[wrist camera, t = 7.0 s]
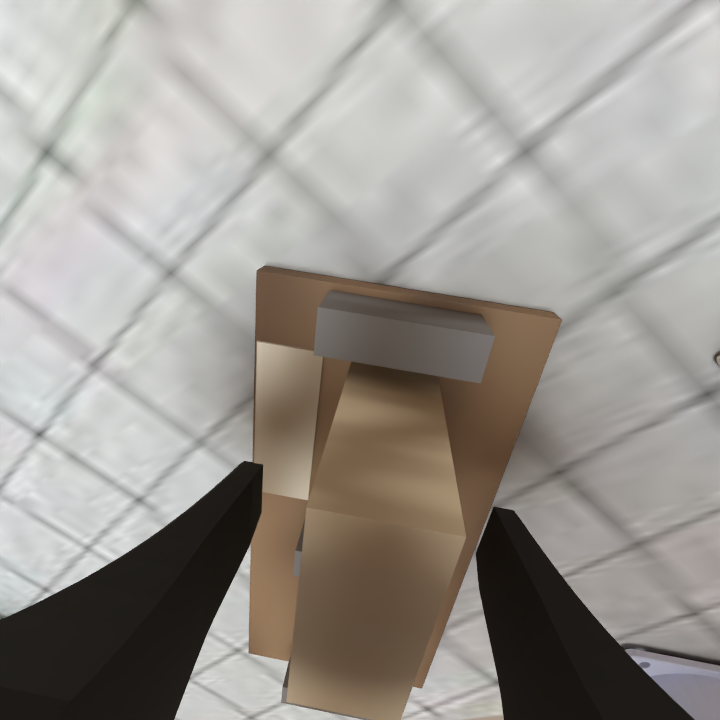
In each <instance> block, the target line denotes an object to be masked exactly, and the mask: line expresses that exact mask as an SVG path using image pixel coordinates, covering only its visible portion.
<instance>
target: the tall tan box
mask: <svg viewBox="0 0 720 720" xmlns="http://www.w3.org/2000/svg"><path fill="white" fill-rule="evenodd" d="M465 539H466V533H465V527H464V521H463V516H462V510H461V504H460V499H459V493H458V487H457V482H456V476H455V470H454V465H453V459H452V453H451V448H450V442H449V436H448V431H447V425H446V419H445V414H444V408H443V402H442V397H441V391H440V385H439V380H438V376H434V375H428V374H422V373H416V372H410V371H404V370H398V369H392V368H386V367H381V366H375V365H369V364H363V363H357V362H351V364H350V367H349V371H348V374H347V377H346V380H345V384H344V387H343V390H342V393H341V397H340V400H339V403H338V406H337V410H336V413H335V416H334V419H333V423H332V426H331V429H330V432H329V436H328V439H327V442H326V445H325V449H324V452H323V455H322V458H321V462H320V465H319V468H318V471H317V475H316V478H315V481H314V484H313V488H312V491H311V494H310V497H309V501H308V504H307V507H306V516H305V526H304V535H303V545H302V555H301V564H300V574H299V584H298V594H297V603H296V613H295V623H294V632H293V642H292V652H291V661H290V671H289V681H288V690H287V700H286V702H289V703H294V704H299V705H304V706H309V707H313V708H318V709H323V710H328V711H333V712H337V713H342V714H347V715H352V716H357V717H362V718H366V719H371V720H401V717H402V714H403V712H404V709H405V706H406V703H407V700H408V698H409V695H410V692H411V689H412V687H413V684H414V681H415V678H416V675H417V673H418V670H419V667H420V664H421V662H422V659H423V656H424V653H425V650H426V648H427V645H428V642H429V639H430V637H431V634H432V631H433V628H434V625H435V623H436V620H437V617H438V614H439V612H440V609H441V606H442V603H443V600H444V598H445V595H446V592H447V589H448V587H449V584H450V581H451V578H452V575H453V573H454V570H455V567H456V564H457V562H458V559H459V556H460V553H461V550H462V548H463V545H464V542H465Z"/></svg>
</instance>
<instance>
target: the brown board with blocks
mask: <svg viewBox="0 0 720 720" xmlns="http://www.w3.org/2000/svg"><path fill="white" fill-rule="evenodd" d="M561 322H562V319H561V318H559V317H558V316H557V315H556V314H555V313H553V312H548V311H542V310H535V309H529V308H523V307H517V306H510V305H504V304H498V303H492V302H486V301H479V300H473V299H467V298H461V297H455V296H448V295H442V294H436V293H430V292H424V291H417V290H411V289H405V288H399V287H393V286H386V285H380V284H374V283H368V282H362V281H355V280H349V279H343V278H337V277H331V276H324V275H318V274H312V273H306V272H300V271H293V270H287V269H281V268H275V267H268V266H264V267H262V268H260V269H258V270H257V280H256V327H255V375H254V423H253V463H258V464H263V487H262V513H261V516H260V518H259V521H258V524H257V527H256V530H255V532H254V535H253V538H252V541H251V566H250V613H249V653H250V654H255V655H260V656H265V657H270V658H275V659H280V660H285V661H289V663H288V668H287V672H286V676H285V680H284V684H283V689H282V700H281V703H286V704H291V705H295V706H300V707H305V708H310V709H315V710H319V711H324V712H329V713H334V714H339V715H343V716H348V717H353V718H358V719H363V720H371V719H366V718H362V717H357V716H352V715H347V714H342V713H337V712H333V711H328V710H323V709H318V708H313V707H309V706H304V705H299V704H294V703H289V702H286V700H287V690H288V681H289V671H290V661H291V652H292V642H293V632H294V623H295V613H296V603H297V594H298V584H299V574H300V564H301V555H302V545H303V535H304V526H305V516H306V507H307V504H308V501H309V497H310V494H311V491H312V488H313V484H314V481H315V478H316V475H317V471H318V468H319V465H320V462H321V458H322V455H323V452H324V449H325V445H326V442H327V439H328V436H329V432H330V429H331V426H332V423H333V419H334V416H335V413H336V410H337V406H338V403H339V400H340V397H341V393H342V390H343V387H344V384H345V380H346V377H347V374H348V371H349V367H350V364H351V362H357V363H363V364H369V365H375V366H381V367H386V368H392V369H398V370H404V371H410V372H416V373H422V374H428V375H434V376H438V380H439V385H440V391H441V397H442V402H443V408H444V414H445V419H446V425H447V431H448V436H449V442H450V448H451V453H452V459H453V465H454V470H455V476H456V482H457V487H458V493H459V499H460V504H461V510H462V516H463V521H464V527H465V533H466V539H465V542H464V545H463V548H462V550H461V553H460V556H459V559H458V562H457V564H456V567H455V570H454V573H453V575H452V578H451V581H450V584H449V587H448V589H447V592H446V595H445V598H444V600H443V603H442V606H441V609H440V612H439V614H438V617H437V620H436V623H435V625H434V628H433V631H432V634H431V637H430V639H429V642H428V645H427V648H426V650H425V653H424V656H423V659H422V662H421V664H420V667H419V670H418V673H417V675H416V678H415V681H414V684H413V687H417V688H422V687H423V684H424V682H425V679H426V676H427V674H428V671H429V668H430V666H431V663H432V661H433V658H434V655H435V653H436V650H437V647H438V645H439V642H440V640H441V637H442V634H443V632H444V629H445V626H446V624H447V621H448V619H449V616H450V613H451V611H452V608H453V605H454V603H455V600H456V597H457V595H458V592H459V590H460V587H461V584H462V582H463V579H464V576H465V574H466V571H467V569H468V566H469V563H470V561H471V558H472V555H473V553H474V550H475V548H476V545H477V542H478V540H479V537H480V534H481V532H482V529H483V527H484V524H485V521H486V519H487V516H488V513H489V511H490V508H491V506H492V503H493V500H494V498H495V495H496V492H497V490H498V487H499V485H500V482H501V479H502V477H503V474H504V471H505V469H506V466H507V463H508V461H509V458H510V456H511V453H512V450H513V448H514V445H515V442H516V440H517V437H518V435H519V432H520V429H521V427H522V424H523V421H524V419H525V416H526V414H527V411H528V408H529V406H530V403H531V400H532V398H533V395H534V393H535V390H536V387H537V385H538V382H539V379H540V377H541V374H542V372H543V369H544V366H545V364H546V361H547V358H548V356H549V353H550V350H551V348H552V345H553V343H554V340H555V337H556V335H557V332H558V329H559V327H560V324H561Z"/></svg>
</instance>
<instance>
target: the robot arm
mask: <svg viewBox="0 0 720 720" xmlns="http://www.w3.org/2000/svg"><path fill="white" fill-rule="evenodd" d="M262 487H263V464H258V463H253V462H247V461H244V462H242V463H241V464H240V465H238V466H237V467H236V468H235V469H234V470H233V471H232V472H231V473H230V474H229V475H228V476H226V477H225V478H224V479H223V480H222V481H221V482H220V483H219V484H217V485H216V486H215V487H214V488H213V489H212V490H211V491H209V492H208V493H207V494H206V495H205V496H203V497H202V498H201V499H200V500H199V501H197V502H196V503H195V504H194V505H193V506H191V507H190V508H189V509H188V510H186V511H185V512H184V513H183V514H181V515H180V516H179V517H177V518H176V519H175V520H173V521H172V522H171V523H169V524H168V525H167V526H165V527H164V528H163V529H161V530H160V531H159V532H157V533H156V534H154V535H153V536H152V537H150V538H149V539H147V540H146V541H144V542H143V543H141V544H140V545H138V546H137V547H135V548H134V549H132V550H131V551H129V552H128V553H126V554H124V555H123V556H121V557H120V558H118V559H116V560H115V561H113V562H111V563H110V564H108V565H106V566H105V567H103V568H101V569H100V570H98V571H96V572H95V573H93V574H91V575H89V576H88V577H86V578H84V579H82V580H80V581H79V582H77V583H75V584H73V585H71V586H69V587H67V588H65V589H63V590H61V591H59V592H57V593H56V594H54V595H52V596H50V597H48V598H46V599H44V600H42V601H40V602H38V603H36V604H34V605H32V606H30V607H28V608H26V609H24V610H21V611H19V612H17V613H15V614H13V615H10V616H8V617H6V618H4V619H1V620H0V720H174V718H175V716H176V713H177V710H178V708H179V705H180V702H181V700H182V697H183V694H184V692H185V689H186V686H187V684H188V681H189V679H190V676H191V673H192V671H193V668H194V666H195V663H196V660H197V658H198V655H199V653H200V650H201V648H202V645H203V643H204V640H205V638H206V635H207V633H208V631H209V628H210V626H211V624H212V622H213V619H214V617H215V615H216V613H217V611H218V609H219V607H220V605H221V603H222V601H223V599H224V597H225V595H226V593H227V591H228V589H229V587H230V585H231V583H232V581H233V579H234V577H235V574H236V572H237V570H238V568H239V566H240V564H241V562H242V560H243V558H244V556H245V554H246V552H247V550H248V548H249V546H250V543H251V541H252V538H253V535H254V532H255V530H256V527H257V524H258V521H259V518H260V516H261V513H262ZM476 560H477V572H478V582H479V590H480V595H481V600H482V605H483V610H484V615H485V619H486V624H487V629H488V633H489V638H490V643H491V647H492V652H493V657H494V662H495V666H496V671H497V676H498V681H499V687H500V693H501V700H502V708H503V716H504V720H720V666H719V665H714V664H709V663H704V662H698V661H693V660H688V659H683V658H678V657H673V656H668V655H663V654H657V653H652V652H647V651H642V650H637V649H625V650H624V649H623V648H622V647H621V646H620V645H619V644H618V643H617V641H616V640H615V639H614V638H613V637H612V636H611V635H610V634H609V633H608V632H607V631H606V629H605V628H604V627H603V626H602V625H601V624H600V623H599V621H598V620H597V619H596V618H595V617H594V616H593V614H592V613H591V612H590V611H589V610H588V608H587V607H586V606H585V605H584V604H583V602H582V601H581V600H580V599H579V598H578V596H577V595H576V594H575V593H574V591H573V590H572V589H571V588H570V586H569V585H568V584H567V583H566V581H565V580H564V579H563V577H562V576H561V575H560V573H559V572H558V571H557V569H556V568H555V567H554V565H553V564H552V563H551V561H550V560H549V559H548V557H547V556H546V555H545V553H544V552H543V551H542V549H541V548H540V546H539V545H538V544H537V542H536V541H535V539H534V538H533V537H532V535H531V534H530V532H529V531H528V530H527V528H526V527H525V525H524V524H523V523H522V521H521V520H520V518H519V517H518V516H517V514H516V513H515V511H514V510H508V509H503V508H497V507H493V510H492V513H491V515H490V518H489V520H488V523H487V526H486V528H485V531H484V533H483V536H482V539H481V541H480V544H479V546H478V549H477V552H476Z"/></svg>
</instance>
